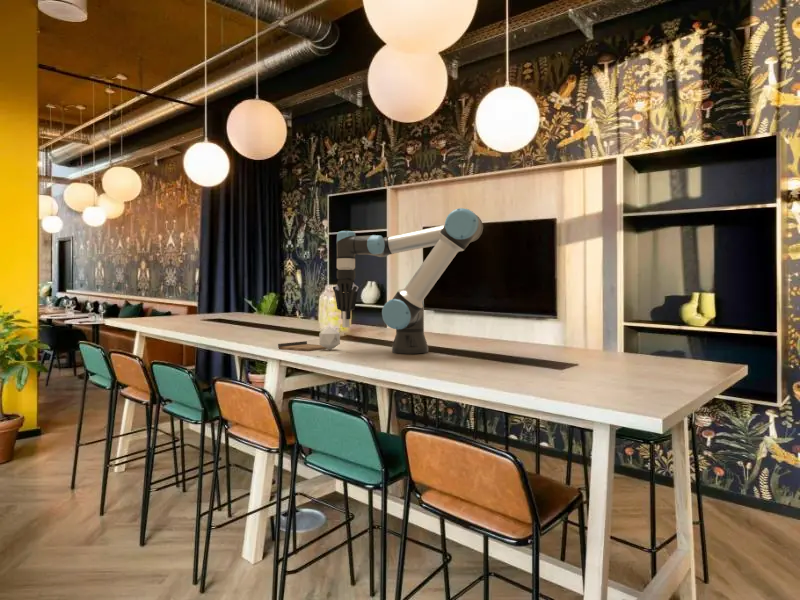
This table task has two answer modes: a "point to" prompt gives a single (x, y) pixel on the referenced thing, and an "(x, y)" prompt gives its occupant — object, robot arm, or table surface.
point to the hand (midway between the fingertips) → (346, 327)
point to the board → (300, 346)
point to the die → (329, 338)
